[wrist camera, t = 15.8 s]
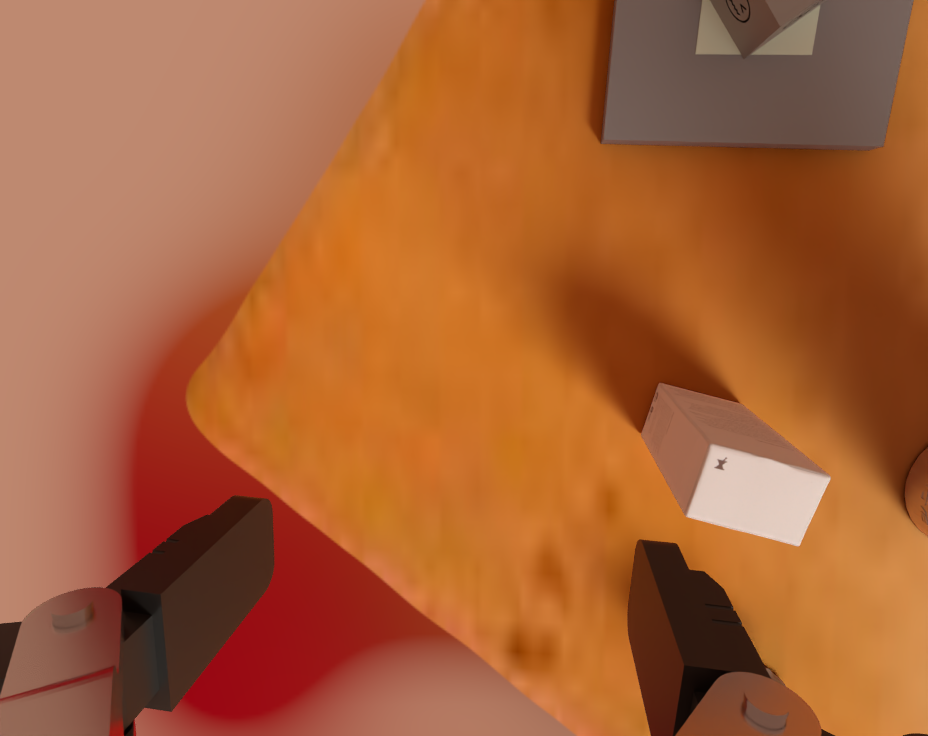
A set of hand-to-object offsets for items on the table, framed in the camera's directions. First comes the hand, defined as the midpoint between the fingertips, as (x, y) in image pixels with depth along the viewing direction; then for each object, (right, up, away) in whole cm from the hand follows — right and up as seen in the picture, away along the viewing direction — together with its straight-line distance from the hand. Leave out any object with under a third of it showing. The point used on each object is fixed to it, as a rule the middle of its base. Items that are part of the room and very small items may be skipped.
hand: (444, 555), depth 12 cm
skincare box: (+16, 0, +27) cm, 32 cm away
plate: (+18, +26, +21) cm, 37 cm away
